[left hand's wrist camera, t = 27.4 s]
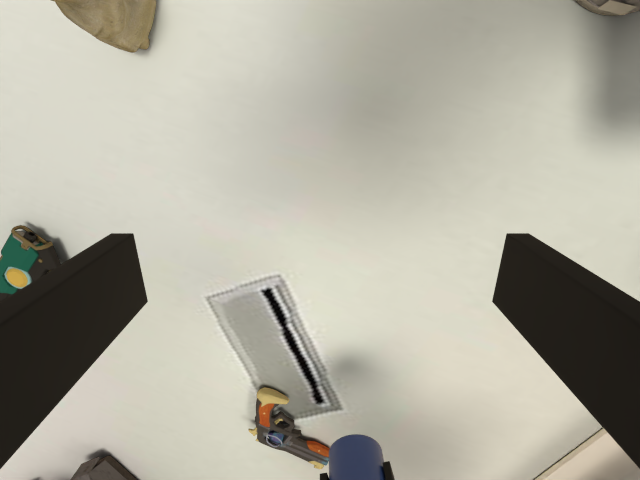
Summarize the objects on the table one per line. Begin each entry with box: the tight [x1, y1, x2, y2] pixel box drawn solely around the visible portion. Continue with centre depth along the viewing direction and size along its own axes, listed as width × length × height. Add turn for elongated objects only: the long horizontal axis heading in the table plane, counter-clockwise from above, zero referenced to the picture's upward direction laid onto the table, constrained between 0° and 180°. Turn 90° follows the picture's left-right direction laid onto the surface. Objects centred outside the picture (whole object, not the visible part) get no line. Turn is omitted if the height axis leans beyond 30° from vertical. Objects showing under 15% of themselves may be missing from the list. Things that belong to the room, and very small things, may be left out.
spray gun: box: [0, 225, 61, 302], centre depth 48 cm, size 4×17×15 cm
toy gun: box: [249, 388, 330, 469], centre depth 58 cm, size 3×19×10 cm
